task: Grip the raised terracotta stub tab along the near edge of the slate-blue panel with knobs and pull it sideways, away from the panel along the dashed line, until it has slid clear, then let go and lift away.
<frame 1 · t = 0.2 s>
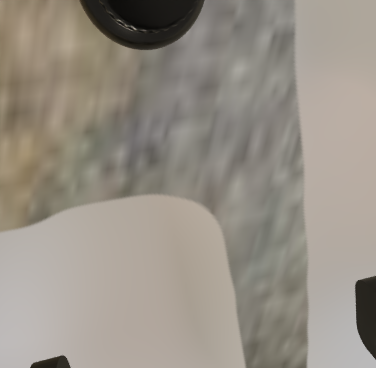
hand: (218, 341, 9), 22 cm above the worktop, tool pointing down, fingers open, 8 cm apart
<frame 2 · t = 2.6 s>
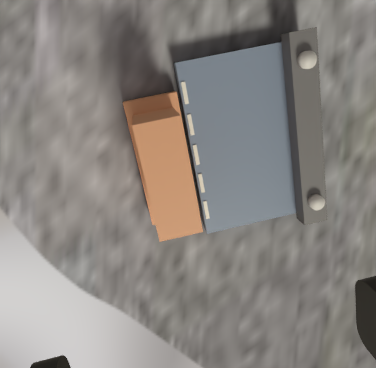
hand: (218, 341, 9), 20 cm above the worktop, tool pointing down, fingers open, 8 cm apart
panel with knobs: (249, 139, 29), on the worktop
stub: (165, 169, 25), point 3 cm above the worktop, slide at 0.0 cm
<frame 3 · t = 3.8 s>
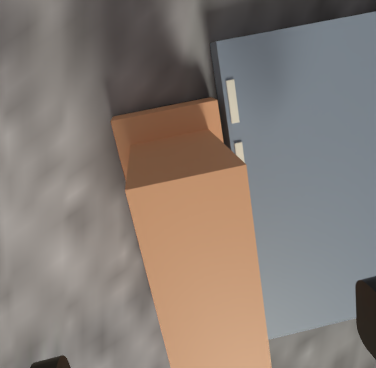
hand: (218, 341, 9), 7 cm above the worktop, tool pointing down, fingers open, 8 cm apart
panel with knobs: (336, 182, 16), on the worktop
stub: (195, 253, 13), point 3 cm above the worktop, slide at 0.0 cm
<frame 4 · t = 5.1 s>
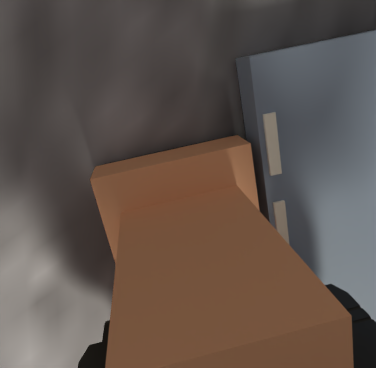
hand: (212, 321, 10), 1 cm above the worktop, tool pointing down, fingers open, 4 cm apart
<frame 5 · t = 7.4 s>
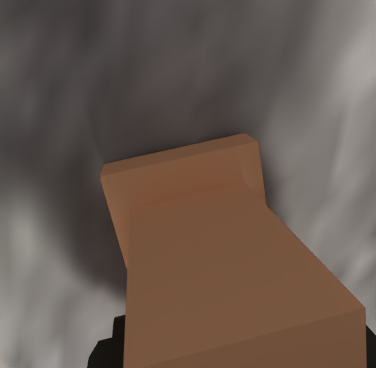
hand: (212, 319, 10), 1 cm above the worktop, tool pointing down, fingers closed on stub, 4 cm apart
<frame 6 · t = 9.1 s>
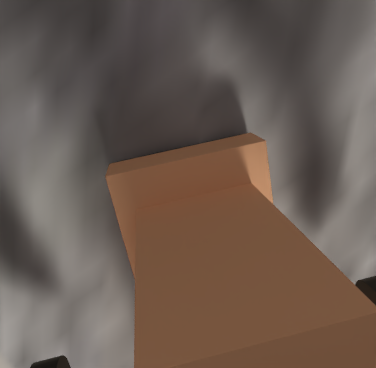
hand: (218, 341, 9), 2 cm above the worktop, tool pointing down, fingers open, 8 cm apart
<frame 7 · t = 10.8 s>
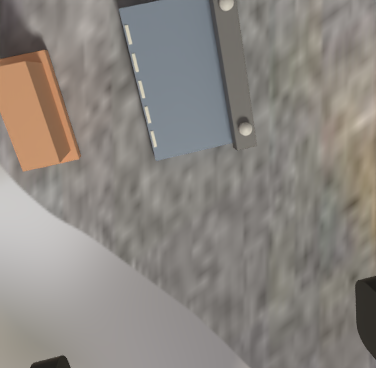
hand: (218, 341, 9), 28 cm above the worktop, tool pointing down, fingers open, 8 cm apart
panel with knobs: (188, 78, 34), on the worktop
stub: (35, 114, 30), point 3 cm above the worktop, slide at 6.8 cm
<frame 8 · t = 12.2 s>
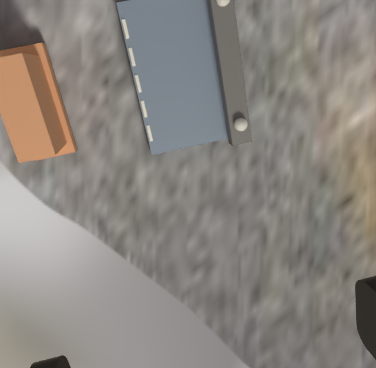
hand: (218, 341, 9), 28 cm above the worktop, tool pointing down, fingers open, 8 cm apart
panel with knobs: (185, 73, 34), on the worktop
stub: (31, 106, 30), point 3 cm above the worktop, slide at 6.8 cm
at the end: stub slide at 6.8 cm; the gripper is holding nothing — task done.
